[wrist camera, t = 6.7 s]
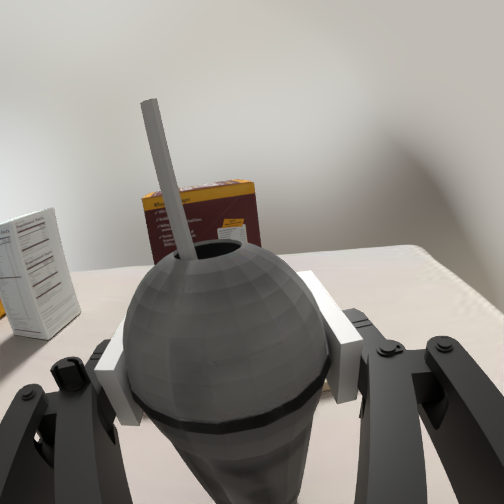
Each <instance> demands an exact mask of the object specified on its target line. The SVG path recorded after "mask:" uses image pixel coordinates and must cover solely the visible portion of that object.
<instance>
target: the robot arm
mask: <svg viewBox="0 0 504 504" xmlns="http://www.w3.org/2000/svg"><path fill="white" fill-rule="evenodd" d="M296 273H297V274H298V275H299V276H300V277H301V278H302V279H303V281H304V282H305V284H306V285H307V286H308V288H309V289H310V291H311V292H312V294H313V296H314V298H315V300H316V302H317V304H318V306H319V309H320V313H321V316H322V320H323V325H324V332H325V335H326V337H327V340H328V345H329V350H330V357H331V366H330V369H329V371H328V374H327V376H326V381H327V383H328V385H329V387H330V389H331V392H332V394H333V396H334V398H335V401H336V403H337V404H340V403H344V402H348V401H352V400H356V399H357V393H358V389H359V391H360V392H361V394H362V403H361V409H360V415H359V418H361V427H360V447H359V461H358V473H357V484H356V493H355V501H354V504H427V485H426V471H425V460H424V451H423V442H422V435H421V427H420V420H419V415H420V417H421V419H422V421H423V423H424V426H425V428H426V430H427V432H428V434H429V436H430V438H431V440H432V442H433V445H434V447H435V449H436V451H437V453H438V455H439V458H440V460H441V462H442V464H443V467H444V469H445V471H446V474H447V476H448V478H449V481H450V483H451V485H452V488H453V490H454V493H455V495H456V498H457V500H458V503H459V504H504V396H503V395H502V394H501V393H500V391H499V390H498V389H497V387H496V386H495V385H494V384H493V382H492V381H491V380H490V379H489V377H488V376H487V375H486V374H485V373H484V371H483V370H482V369H481V368H480V367H479V365H478V364H477V363H476V362H475V361H474V359H473V358H472V357H471V356H470V355H469V354H468V352H467V351H466V350H465V349H464V348H463V347H462V345H461V344H460V343H459V342H458V341H456V340H455V339H453V338H451V337H448V336H436V337H433V338H431V339H430V340H429V341H428V342H427V346H426V349H421V350H406V349H405V347H404V346H403V345H402V344H401V343H399V342H397V341H394V340H386V339H385V338H384V336H383V335H382V334H381V333H380V332H379V330H378V329H377V328H376V327H375V326H374V325H373V323H372V322H371V321H370V320H368V318H367V317H366V315H365V314H364V313H363V312H361V311H359V310H357V309H355V308H353V309H348V310H341V309H340V308H339V306H338V305H337V304H336V302H335V301H334V300H333V298H332V297H331V296H330V294H329V293H328V292H327V291H326V289H325V288H324V287H323V285H322V284H321V283H320V281H319V280H318V279H317V278H316V276H315V275H314V274H313V272H312V271H311V270H310V271H303V272H296ZM125 318H126V315H125V317H124V319H123V320H122V322H121V324H120V325H119V327H118V329H117V330H116V332H115V334H114V336H113V337H112V339H108V340H104V341H103V342H101V343H100V344H99V345H98V346H97V347H96V349H95V350H94V352H93V354H92V355H91V357H90V358H89V359H90V360H88V362H87V363H86V365H85V366H84V364H83V362H82V360H81V359H80V358H78V357H67V358H64V359H61V360H59V361H58V362H56V363H55V364H54V365H53V366H52V368H51V370H50V371H51V373H52V375H53V377H54V379H55V381H56V383H57V385H58V387H59V389H60V390H59V391H58V392H52V393H46V394H45V392H44V390H43V388H42V387H41V386H40V385H38V384H29V385H27V386H24V387H23V388H21V389H20V390H19V391H18V392H17V394H16V395H15V397H14V399H13V401H12V403H11V404H10V406H9V408H8V410H7V412H6V414H5V416H4V417H3V419H2V421H1V423H0V504H133V502H132V498H131V495H130V491H129V487H128V482H127V478H126V474H125V469H124V464H123V459H122V454H121V449H120V444H119V438H118V432H117V429H116V427H115V425H114V424H113V422H114V419H115V417H116V416H117V418H118V420H119V422H120V423H121V425H129V426H140V422H141V418H142V415H143V410H142V408H141V407H140V406H139V405H138V404H137V403H136V402H135V401H134V400H133V398H132V394H131V390H130V387H129V383H128V378H127V366H126V362H125V358H124V351H123V342H122V341H123V326H124V322H125ZM418 413H419V414H418ZM36 433H37V434H38V435H39V437H40V439H39V441H38V442H37V441H36V440H35V439H34V436H35V434H36Z"/></svg>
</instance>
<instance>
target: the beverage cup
mask: <svg viewBox="0 0 504 504" xmlns="http://www.w3.org/2000/svg"><path fill="white" fill-rule="evenodd" d="M140 104H141V109H142V113H143V118H144V122H145V127H146V132H147V136H148V141H149V145H150V149H151V153H152V157H153V162H154V165H155V169H156V173H157V177H158V181H159V185H160V189H161V193H162V197H163V200H164V204H165V208H166V211H167V215H168V218H169V222H170V225H171V229H172V232H173V236H174V239H175V242H176V246H177V250H175V251H174V252H172V253H170V254H169V255H167V256H165V257H164V258H163V259H162V260H160V261H159V262H158V263H157V264H156V265H155V266H154V267H153V268H152V269H151V270H150V271H149V272H148V273H147V274H146V275H145V277H144V278H143V279H142V281H141V282H140V284H139V285H138V287H137V289H136V291H135V294H134V296H133V298H132V300H131V303H130V305H129V307H128V310H127V314H126V318H125V322H124V326H123V341H122V342H123V351H124V358H125V362H126V366H127V378H128V383H129V387H130V390H131V394H132V398H133V400H134V401H135V402H136V403H137V404H138V405H139V406H140V407H141V408H142V410H143V411H144V412H145V413H146V414H147V416H148V417H149V418H150V419H151V421H152V422H153V423H154V424H155V425H156V427H157V428H158V429H159V430H160V431H161V432H162V433H163V434H164V435H165V436H166V437H167V438H168V439H169V440H170V441H171V443H172V444H173V446H174V447H175V449H176V450H177V452H178V453H179V455H180V456H181V457H182V459H183V460H184V462H185V463H186V465H187V466H188V467H189V469H190V470H191V472H192V473H193V474H194V476H195V477H196V478H197V480H198V481H199V482H200V484H201V485H202V486H203V488H204V489H205V490H206V491H207V493H208V494H209V495H210V497H211V498H212V499H213V500H214V501H215V503H216V504H296V499H297V497H298V495H299V493H300V488H301V484H302V479H303V473H304V468H305V463H306V457H307V452H308V446H309V440H310V434H311V428H312V421H313V415H314V412H315V410H316V407H317V405H318V402H319V399H320V396H321V392H322V389H323V385H324V382H325V379H326V376H327V374H328V371H329V369H330V366H331V357H330V350H329V345H328V340H327V337H326V335H325V332H324V325H323V320H322V316H321V313H320V309H319V306H318V304H317V302H316V300H315V298H314V296H313V294H312V292H311V291H310V289H309V288H308V286H307V285H306V284H305V282H304V281H303V279H302V278H301V277H300V276H299V275H298V274H297V273H296V272H295V271H294V270H293V269H292V268H291V267H290V266H289V265H288V264H287V263H286V262H285V261H284V260H282V259H281V258H279V257H278V256H276V255H275V254H273V253H272V252H270V251H268V250H266V249H263V248H261V247H259V246H256V245H254V244H251V243H247V242H243V241H239V240H233V239H215V240H207V241H201V242H196V243H193V241H192V237H191V234H190V230H189V227H188V223H187V219H186V216H185V212H184V208H183V205H182V201H181V197H180V193H179V190H178V186H177V182H176V178H175V174H174V170H173V166H172V162H171V158H170V154H169V150H168V146H167V141H166V137H165V133H164V129H163V124H162V120H161V115H160V111H159V107H158V102H157V99H149V100H146V101H143V102H142V103H140Z"/></svg>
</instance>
